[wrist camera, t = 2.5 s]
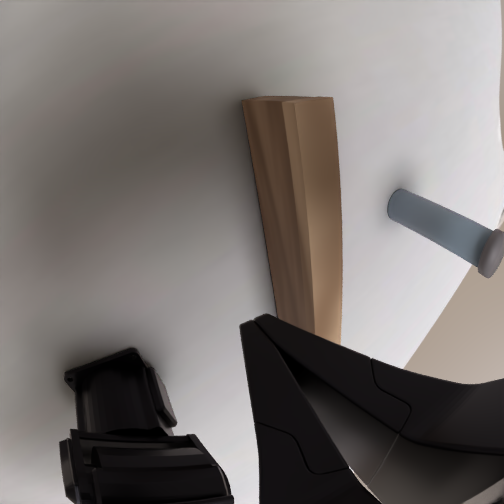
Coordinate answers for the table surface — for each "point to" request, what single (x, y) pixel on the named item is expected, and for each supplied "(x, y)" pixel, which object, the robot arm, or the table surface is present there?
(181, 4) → the table surface
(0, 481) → the table surface
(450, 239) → the capped peg handle
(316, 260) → the wooden plank
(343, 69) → the table surface
